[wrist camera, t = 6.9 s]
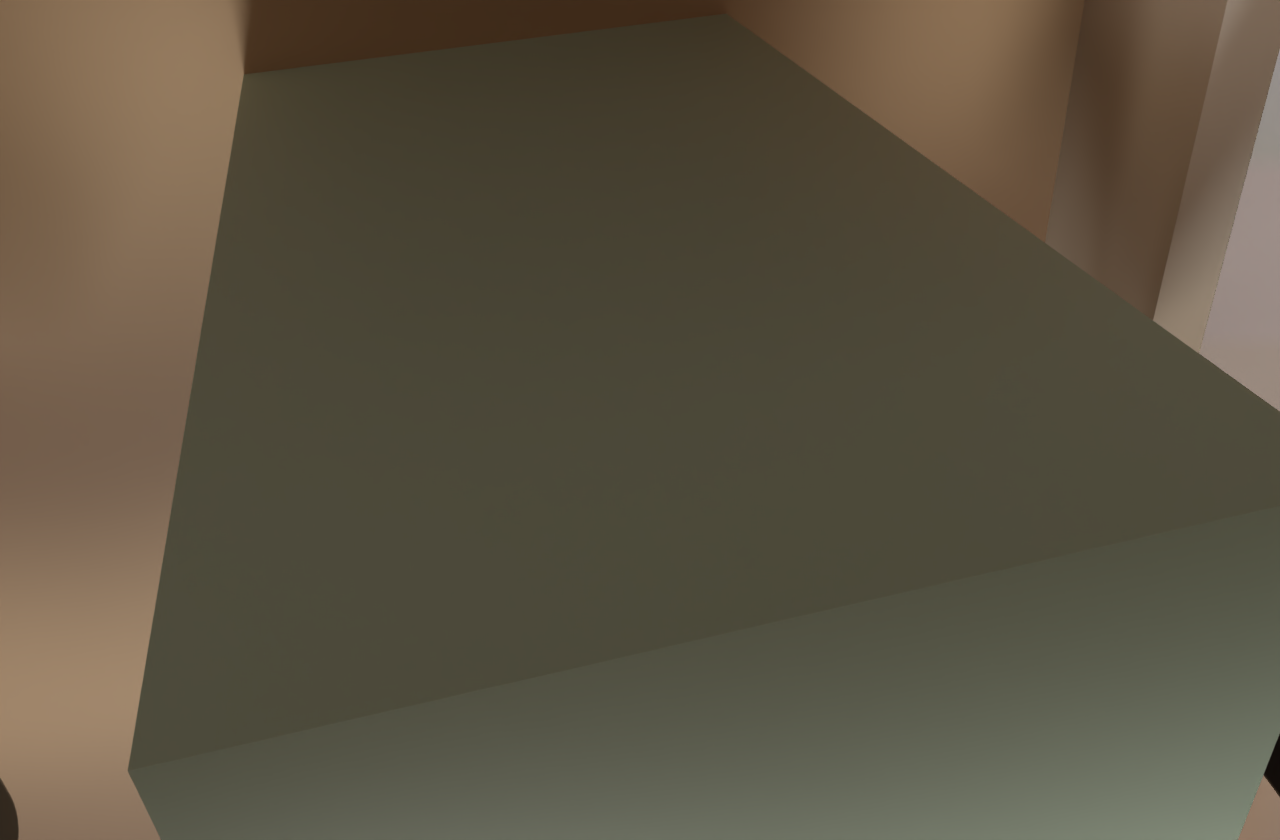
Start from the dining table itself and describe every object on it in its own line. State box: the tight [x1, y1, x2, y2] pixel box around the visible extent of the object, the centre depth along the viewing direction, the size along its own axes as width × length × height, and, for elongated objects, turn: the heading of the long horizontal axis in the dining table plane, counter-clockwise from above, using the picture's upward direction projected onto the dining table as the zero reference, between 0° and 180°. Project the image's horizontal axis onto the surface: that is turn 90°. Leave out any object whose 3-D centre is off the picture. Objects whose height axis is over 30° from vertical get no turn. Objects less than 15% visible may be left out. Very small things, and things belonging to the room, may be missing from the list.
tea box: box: [128, 14, 1280, 840], centre depth 8 cm, size 7×4×7 cm, turn 4°
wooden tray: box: [0, 0, 1280, 840], centre depth 10 cm, size 17×17×3 cm
